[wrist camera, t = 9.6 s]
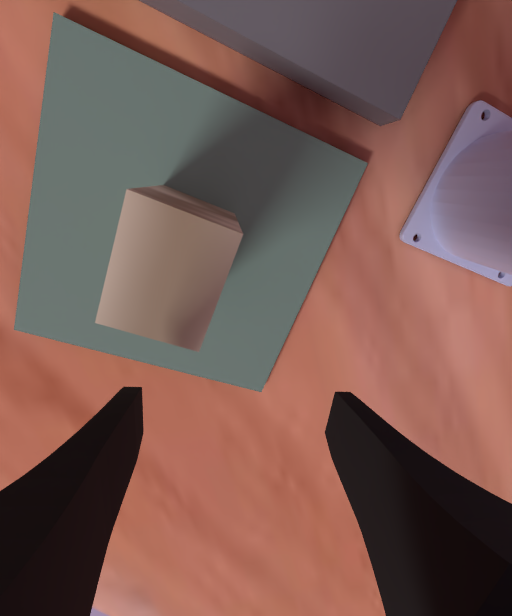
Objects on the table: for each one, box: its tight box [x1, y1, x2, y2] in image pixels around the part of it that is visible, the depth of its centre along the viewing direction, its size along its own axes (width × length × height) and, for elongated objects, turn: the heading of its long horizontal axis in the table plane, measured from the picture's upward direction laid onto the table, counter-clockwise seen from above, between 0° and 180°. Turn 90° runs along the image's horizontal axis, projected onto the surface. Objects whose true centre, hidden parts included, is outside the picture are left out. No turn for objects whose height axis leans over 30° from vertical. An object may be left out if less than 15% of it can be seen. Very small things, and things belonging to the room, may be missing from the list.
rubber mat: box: [14, 12, 368, 392], centre depth 18 cm, size 16×16×1 cm
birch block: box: [95, 185, 243, 352], centre depth 14 cm, size 4×5×7 cm
